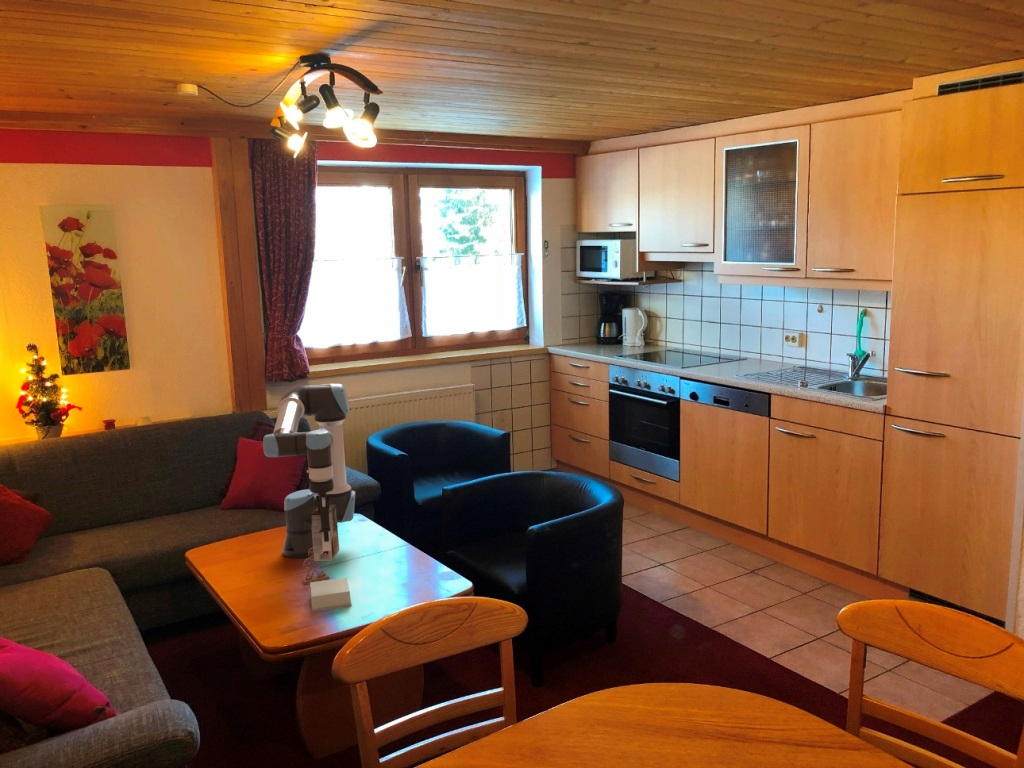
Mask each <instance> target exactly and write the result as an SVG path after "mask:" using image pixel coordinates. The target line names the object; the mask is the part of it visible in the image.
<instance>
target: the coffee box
mask: <svg viewBox="0 0 1024 768" xmlns="http://www.w3.org/2000/svg"><path fill="white" fill-rule="evenodd" d="M328 513H329V524H330V536H331V549H332V550H330V551H323V547H322V534H321V532H319V530H321V529H322V527H321V513H320V511H318V505H317V506H316V507H315V508H314V510H313V511H312V512H311V513H310V514H311V527H312V539H313V552H314V561H315V562H317V561H319V562H331V561H334V560H335V558H336V556H337V555H338V553H339V552H340V543H339V542H340V541H339V530H338V529H339V528H338V523H337V514H336V505H329V510H328ZM324 528H327V527H324Z"/></svg>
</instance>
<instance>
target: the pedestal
mask: <svg viewBox="0 0 1024 768" xmlns="http://www.w3.org/2000/svg"><path fill="white" fill-rule="evenodd" d="M309 586H310V594H309V595H310V596H309V598H310V606H311V607H310V608H311V613H315V612H320V611H326V610H327V611H328V610H333V609H334V610H335V609H341V608H347V607H352V606H353V605H352V604H353V603H352V599H351V593H350V592H351V591H350V586H349V583H348V577H341V578H332V579H328V580H324V581H317V582H310V584H309Z"/></svg>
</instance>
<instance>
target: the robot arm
mask: <svg viewBox="0 0 1024 768" xmlns="http://www.w3.org/2000/svg"><path fill="white" fill-rule="evenodd" d="M349 405H350V404H349V399H348V394H347V391H346V388H345V386H344V385H343V384H341V383H333V382H332V383H322V384H308V385H307V384H305V385H299V386H296V387H294V388H292V389H291V390H289V391H288V392H286V393H285V394H283V396H282V397H281V398H280V399H279V401H278V405H277V410H276V411H277V418H276V421H275V425H274V428H273V432H272V433H270V434H265V435H264V436H263V440H262V450H263V453H264V456H266V457H267V458H281V457H292V456H293V457H294V456H307V466H308V467H307V468H308V469H307V470H306V473H307V474H308V478H309V481H308V482H309V484H308V485H309V488H308V489H307V488H306V489H300V490H296V491H294V492H292V493H289V494H288V495H286V497H285V498H284V501H283V502H284V503H283V504H284V505H283V506H284V508H283V510H284V517H285V518H284V519H285V530H286V536H285V539H284V543H283V547H282V549H283V550H282V551H283V555H284V556H285V557H288V558H293V559H302V558H310V556H311V555H314V552H313V549H311V550H310V552H311V551H312V552H313V553H312V554H311V553H309V555H310V554H311V555H310V556H309V555H308V551H309V549H310V548H312V547H313V539H312V527H311V514H310V513H311V512H312V511H313V510H314V508H315V507H316V506H317V505H318V511H320V513H321V527H322V529H321V530H319V532H321V534H322V547H323V551H330V550H332V549H331V536H330V524H329V513H328V510H329V505H336V514H337V524H338V523H341V524H342V523H346V522H351V521H353V519H354V516H355V515H354V514H355V502H356V491H355V490H352V487H351V485H350V484H349V483H348V482H347V481H348V480H347V470H346V455H345V454H346V453H345V443H344V442H345V441H344V440H345V439H344V429H343V423H344V422H345V420H346V419H347V416H346V415H349V414H350V406H349ZM302 417H303V418H304V417H314V422H315V423H316V424H317V425H318V429H316V430H310V431H301V432H298V429H299V424H300V420H301V418H302ZM324 527H327V528H324ZM311 557H312V556H311Z"/></svg>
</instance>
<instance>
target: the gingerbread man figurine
mask: <svg viewBox="0 0 1024 768" xmlns="http://www.w3.org/2000/svg"><path fill="white" fill-rule="evenodd" d="M311 549H313V547H312V548H310V549H309V551H308V555H309V553H311V554H312V553H313V552H312V551H311V552H310V550H311ZM311 554H310V555H311ZM310 555H309V556H310ZM308 560H311V561H312V562H313V564H312V562H311V561H310V562H307V563H306V561H308ZM315 562H317V564H316V563H315ZM319 562H320V561H314V555H311V556H310V557H306V559H304V561H303V563H302V568H303V569H305V570H306V569H308V568H309V570H308V572H307V574H306V576H305V577H304V578H301V583H302V584H303V585H304V586H307V585H310V582H317V581H323V580H330V576H329V575H328V574H327V573H324V571H323V570H322V568H321V567H320V563H319ZM315 568H319V570H320V572H319V573H318V571H317V570H316V569H315ZM312 569H313V572H312V574H311V575H310V572H311V570H312ZM315 573H316V574H317V575H314V574H315Z"/></svg>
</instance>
